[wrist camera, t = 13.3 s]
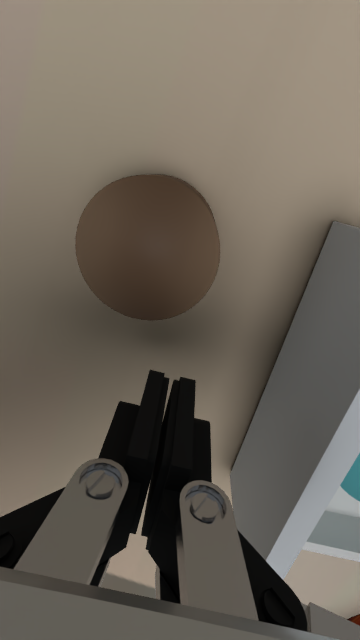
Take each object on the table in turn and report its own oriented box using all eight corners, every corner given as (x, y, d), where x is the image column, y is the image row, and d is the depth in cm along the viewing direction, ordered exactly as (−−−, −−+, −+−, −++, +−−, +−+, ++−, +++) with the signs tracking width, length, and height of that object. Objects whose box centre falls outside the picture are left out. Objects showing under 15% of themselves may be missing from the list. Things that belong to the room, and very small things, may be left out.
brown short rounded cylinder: (95, 276, 16) (68, 302, 13) (111, 160, 14) (84, 157, 11) (199, 301, 16) (199, 333, 13) (230, 191, 14) (238, 196, 11)
